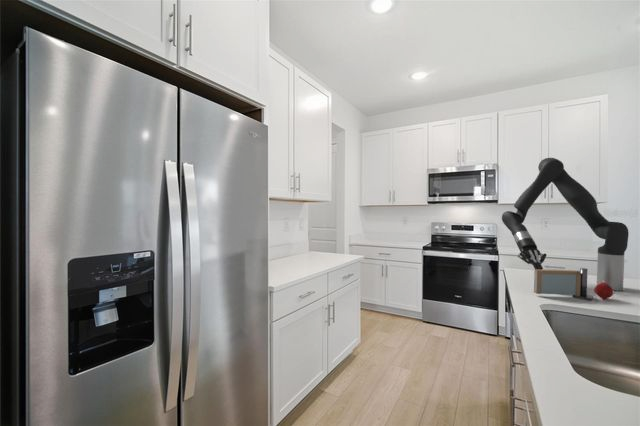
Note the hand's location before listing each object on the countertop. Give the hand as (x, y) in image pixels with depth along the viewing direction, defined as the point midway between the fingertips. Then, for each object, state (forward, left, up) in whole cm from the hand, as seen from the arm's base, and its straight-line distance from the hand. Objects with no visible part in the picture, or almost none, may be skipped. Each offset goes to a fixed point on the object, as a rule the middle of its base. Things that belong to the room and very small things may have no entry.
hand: (540, 270), depth 134 cm
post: (-4, +15, -10) cm, 18 cm away
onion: (-8, +21, -10) cm, 25 cm away
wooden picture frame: (+4, +7, -9) cm, 12 cm away
